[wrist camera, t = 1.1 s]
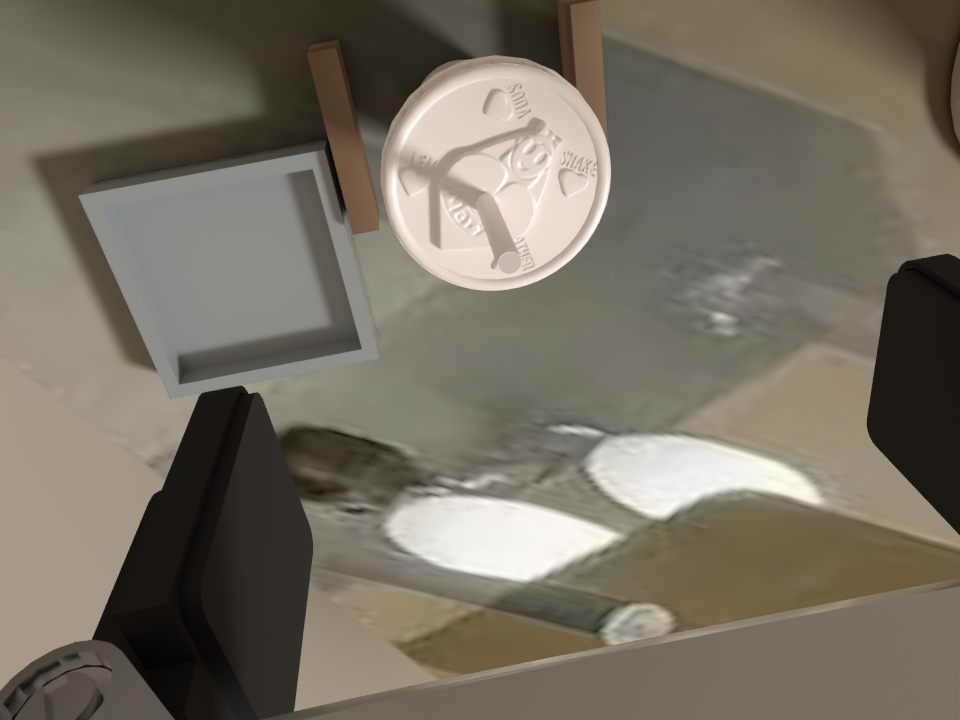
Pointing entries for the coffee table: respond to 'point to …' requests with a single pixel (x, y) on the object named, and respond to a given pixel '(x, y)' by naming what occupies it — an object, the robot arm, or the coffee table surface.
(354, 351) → the tray
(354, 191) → the brown parallel rails
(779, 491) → the coffee table surface
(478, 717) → the robot arm
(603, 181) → the smoothie
